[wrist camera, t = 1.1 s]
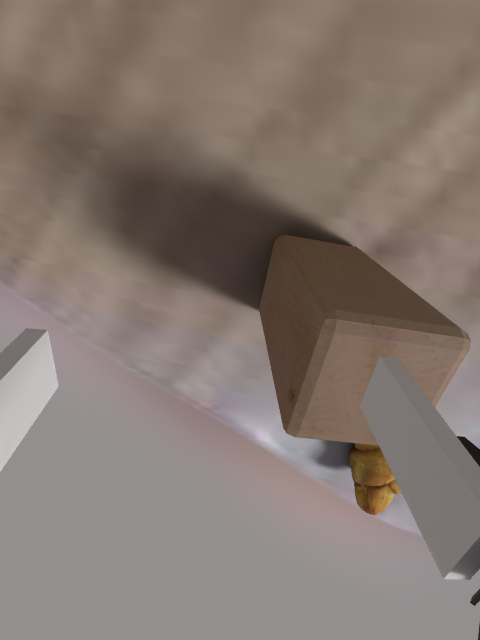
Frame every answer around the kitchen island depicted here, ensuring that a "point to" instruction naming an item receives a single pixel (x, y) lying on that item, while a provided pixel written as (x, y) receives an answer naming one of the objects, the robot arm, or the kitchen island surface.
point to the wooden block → (346, 336)
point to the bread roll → (372, 478)
